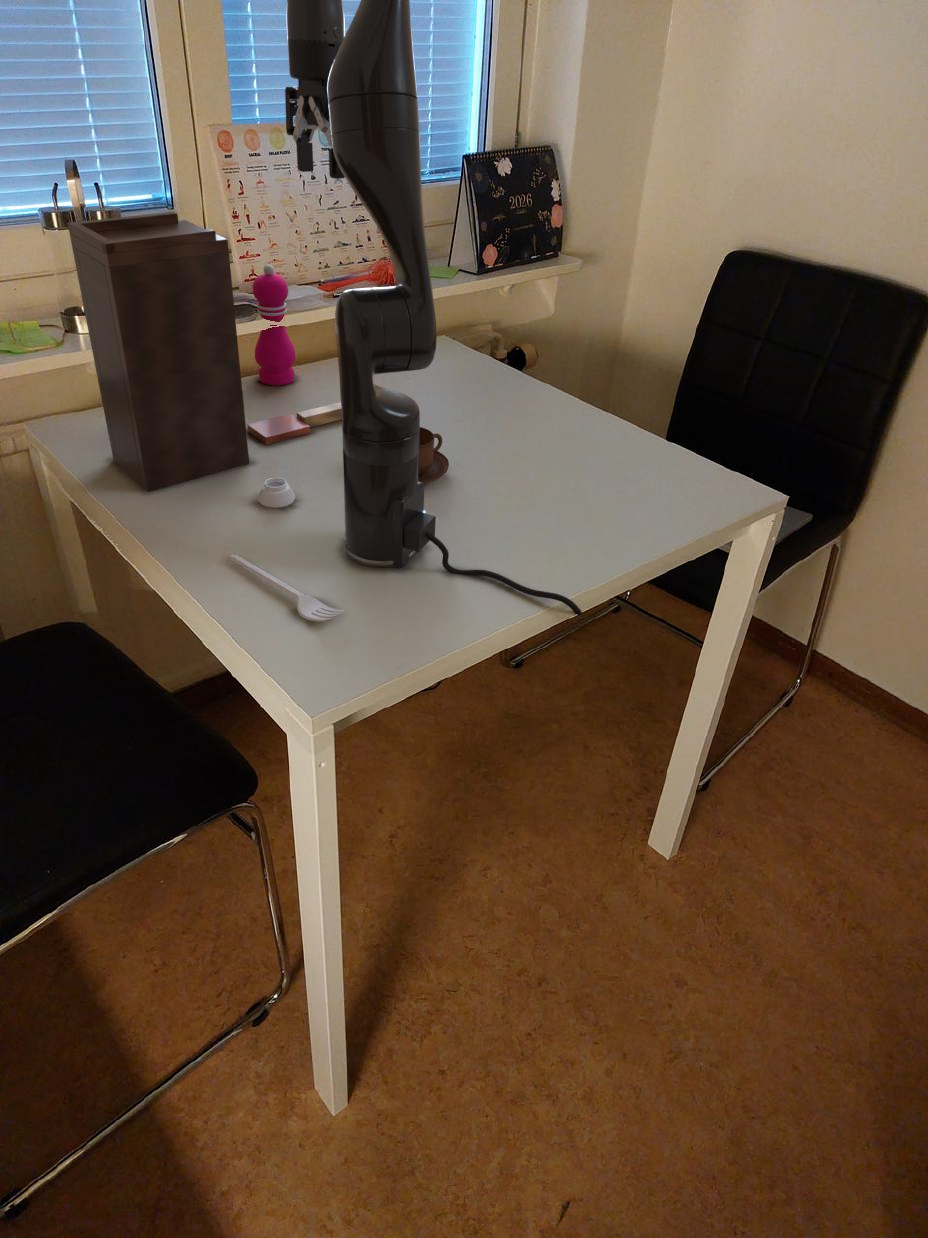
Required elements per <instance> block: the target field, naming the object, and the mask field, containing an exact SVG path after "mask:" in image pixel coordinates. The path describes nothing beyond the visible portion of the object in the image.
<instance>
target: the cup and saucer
mask: <svg viewBox="0 0 928 1238" xmlns="http://www.w3.org/2000/svg"><path fill="white" fill-rule="evenodd" d="M435 439H437V441H438V442H437V445H436V446H435ZM442 445H443V437H442V435H440V433H433V432H432V431H431V430H429V429H427V428H426V427H422V426H420V428H419V465H418V482H422V483H424V485H426V484H430V483H433V482H435V481H437V480H439V479H440V478H442V477H443V476H444V475H445V474H446V473H447V472H448V470H449V467H450V462H449V460H448V458H447V457H446V456H445V455H444V454H443V453H442V452H441V451H439V450H440V449H441V448H442Z"/></svg>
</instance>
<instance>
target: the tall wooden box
mask: <svg viewBox="0 0 928 1238" xmlns="http://www.w3.org/2000/svg"><path fill="white" fill-rule="evenodd" d="M67 228H68V234H69V237H70V244H71V248H72V253H73V259H74V264H75V269H76V274H77V280H78V285H79V289H80V295H81V299H82V304H83V310H84V316H85V320H86V327H87V331H88V335H89V340H90V347H91V352H92V356H93V361H94V367H95V373H96V377H97V382H98V387H99V392H100V398H101V403H102V407H103V413H104V418H105V423H106V424H105V425H106V429H107V434H108V439H109V445H110V449H111V456H112V458H113V462H115V464H117V465H118V466H119V467H120V468H121V469H122V470H123V471H124V472H125V473H127V475H129V476H130V477H131V478H132V479H134V481H136V482H137V483H138V484H139V485H140V486H141V487H142V488H144V490H145V491H146V492H148V493H150V492H153V491H156V490H159V489H164V488H167V487H171V486H174V485H178V484H181V483H185V482H189V481H192V480H196V479H199V478H203V477H205V476H210V475H214V474H217V473H220V472H223V471H227V470H231V469H235V468H238V467H241V466H245V465H249V464H250V456H249V455H250V454H249V446H248V436H247V435H248V433H247V424H246V413H245V404H244V394H243V382H242V375H241V374H242V373H241V363H240V352H239V343H238V341H239V340H238V332H237V322H236V321H237V320H236V312H235V311H236V310H235V301H234V300H235V299H234V291H233V281H232V280H233V279H232V270H231V260H230V259H231V258H230V249H229V239H227V238H226V237H223V236H221V235H219V234H217V233H216V230H215V229H213V228H207V229H206V228H204V227H202V226H199V225H197V224H195V223H193V222H191V221H189V220H186V219H183V220H179V215H178V213H177V212H175V211H168V212H157V213H149V214H139V215H130V216H120V217H110V218H101V219H90V220H80V221H72V222H67Z"/></svg>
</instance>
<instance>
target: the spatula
mask: <svg viewBox="0 0 928 1238" xmlns="http://www.w3.org/2000/svg"><path fill="white" fill-rule="evenodd" d="M337 421H342V408H341V401H339V402H335V403H331V404H326V405H323V406H319V407H315V408H310V409H306V410H302V411H297V412H296V416H295V415H294V414H292V413H288V414H284V415H283V414H282V415H280V416H276V417H271V418H267V419H264V420H260V421H256V422H252V423H248V424H246V427H247V431H248V433H250V434H251V435H253V436H254V437H255V438H256V439H258V440H260V441H261V442H262V443H264V445H270V444H273V443H277V442H282V441H285V440H288V439H293V438H297V437H301V436H304V435H309V434H311V428H313V427H318V426H323V425H325V424H330V423H334V422H337Z"/></svg>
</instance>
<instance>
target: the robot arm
mask: <svg viewBox="0 0 928 1238" xmlns="http://www.w3.org/2000/svg"><path fill="white" fill-rule="evenodd" d="M410 3H411V2H410V0H360V2H359V5H358V7H357V9H356V11H355V13H354V16H353V18H352V21H351V23H350V24H349V26H348V29H347V30H346V23H345V21H346V20H345V11H344V5H343V0H286V12H285V14H286V15H285V16H286V38H287V39H286V40H287V55H288V58H287V59H288V75H289V77H290V78H292V79H293V80H297V81H298V82H297V86H286V87H285V89H284V99H285V104H284V105H285V128H286V129H285V130H286V134H287V136H291V137H292V139H293V142H295V143H296V165H297V170H298V171H299V172H301V173H310V172H313V171H314V151H313V142H312V140H313V138H314V134H315V131H316V130H317V129H319V130H320V131H321V132H322V133H324V135H325V139H326V140H327V143H328V146H329V147H328V171H329V172H328V174H329V177H330V178H331V179H334V180H335V179H338V180H339V179H345V180H346V182H347V183H348V185H349V186H350V188H351V190H352V191H353V193H354V194H355V195H356V197H357V198H358V200H359V201H360V202H361V204H362V206H363V207H364V208H365V210H366V211H367V212H368V214H369V216H370V217H371V219H372V220H373V222H374V223H375V225H376V227H377V229H378V231H379V232H380V234H381V237H382V238H383V241H384V243H385V245H386V248H387V251H388V254H389V258H390V262H391V265H392V269H393V274H394V280H395V285H392V286H391V285H390V286H375V287H359V288H358V287H357V288H349V289H346V290H344V291H342V292H341V293H340V295H339V297H338V298H337V301H336V304H335V311H334V327H335V328H334V329H335V340H336V342H335V343H336V353H337V363H338V375H339V376H338V377H339V397H340V402H341V408H342V419H341V430H342V431H341V433H342V460H343V461H342V464H343V466H342V467H343V468H342V469H343V497H344V498H343V500H344V501H343V502H344V528H345V533H344V537H345V540H344V550H345V553H346V555H347V556H348V557H349V558H350V559H351V560H352V561H353V562H355V563H357V564H360V565H364V566H366V567H372V568H397V569H403V568H404V567H405V566H406V565H407V564H408V563H409V562H410V561H411V560H412V559H413V558H414V557H415V556H416V555H417V554H418V553H419V552H421V551H422V549H424V548H425V546H426V545H428V543H429V542H431V543H433V544H434V545H435V546H436V547H437V548H438V549H439V550H440V552H441V553H442V560H441V564H442V567H443V568H444V569H445V570H446V572H448V573H451V574H453V575H461V576H471V577H472V576H473V577H477V576H479V577H488V578H490V579H494V580H495V581H499V582H501V583H503V584H505V585H506V586H508V587H510V588H513V589H514V590H516V591H519V592H521V593H523V594H526V595H528V596H533V597H537V598H543V599H550V600H554V601H558V602H560V603H563V604H564V605H565V606H568V607H569V609H571V610H572V611H573V612H574V614H575V615H576V616H583V614H584V613H583V612H582V610H581V608H580V607H579V606H578V605H577V604H576V603H575V602H574V601H572V599H569V598H568V597H567V596H565V595H562V594H558V593H554V592H551V591H550V592H549V591H544V590H542V591H541V590H537V589H533V588H529V587H526V586H524V585H522V584H520V583H517V582H516V581H515V580H512V579H510V578H508V577H506V576H504V575H503V574H502V575H501V574H499V573H496V572H494V571H490V570H487V569H458V568H455V567H453V566H452V565H450V563H449V555H450V554H449V551H448V549H447V546H446V545H445V544H444V543H443V542H442V541H441V540H440V539H439V538H437V537H436V522H437V521H436V518H437V516H436V515H433V514H430V513H426V510H425V484H424V483H422V482H418V465H419V428H420V427H421V411H420V406H419V405H418V403H417V401H416V400H415V399H413V398H412V397H411V396H409V395H407V394H405V393H402V392H400V391H397V390H393V389H390V388H386V387H382V386H380V385H377V384H375V383H374V376H375V375H383V374H394V373H401V372H413V371H421V370H424V369H426V368H429V367H430V365H431V364H432V363H433V361H434V359H435V355H436V350H437V340H438V339H437V338H438V337H437V336H438V334H437V333H438V332H437V319H436V318H437V317H436V309H435V308H436V307H435V301H434V300H435V299H434V293H433V284H432V276H431V270H430V261H429V255H428V254H429V253H428V245H427V238H426V230H425V220H424V219H425V218H424V207H423V206H424V205H423V204H424V203H423V186H422V185H423V184H422V166H421V165H422V163H421V133H420V117H419V103H418V102H419V101H418V90H417V89H418V87H417V77H416V67H415V65H416V64H415V56H414V55H415V54H414V44H413V43H414V42H413V31H412V20H411V5H410ZM294 124H295V125H294Z"/></svg>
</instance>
